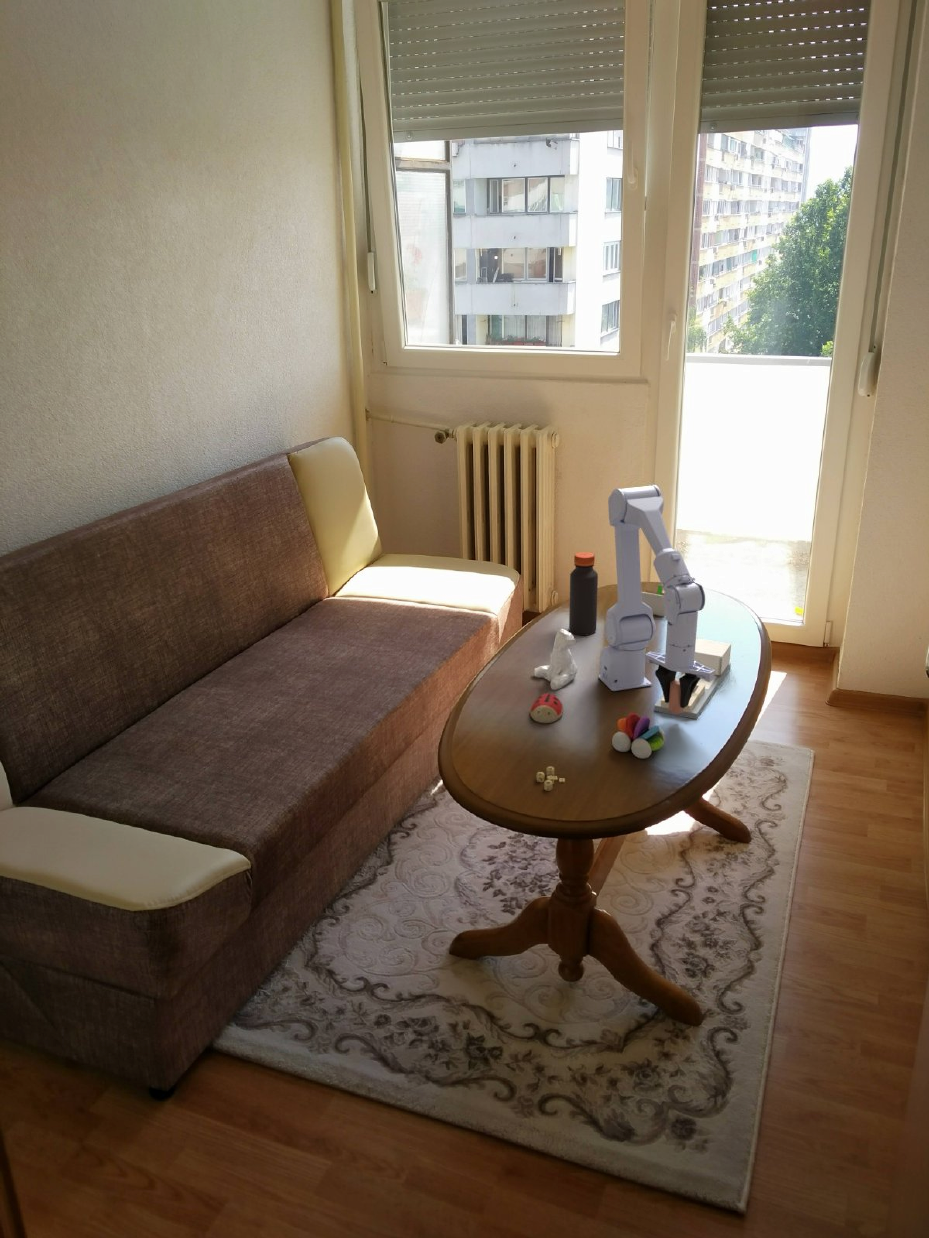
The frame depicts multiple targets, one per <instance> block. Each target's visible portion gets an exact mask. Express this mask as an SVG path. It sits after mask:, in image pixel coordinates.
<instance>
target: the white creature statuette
mask: <svg viewBox="0 0 929 1238" xmlns="http://www.w3.org/2000/svg"><path fill="white" fill-rule="evenodd" d="M554 638H555V639H554V644H553V645H552V647H553V649H552V652H551V653H550V654H549V656H550V663H549V665H548V664H547V665H539V666H538V667H535V668H534V669H533V670H534V672H533V673H534V677H535V678H538V679H539V678H543V679H545V680H547V681H548V682H550V688H551V690H554V691H557V690H561V689H562V688H563V687H564V686H566V685H568V684H569V683H571V681H573V680H574V679H575V678H576V675H577V674H578V670H579V668H578V667H577V664H576V661H575V660H574V658H573V654H572V652H571V650H570V648H572V646H573V645H575V644H576V638H575V636H574V635H573V633H571V632H569V630H566V629H564V628H561V629H559V630H558V631H557V632H556V635H555V637H554Z"/></svg>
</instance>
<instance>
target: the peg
mask: <svg viewBox="0 0 929 1238" xmlns="http://www.w3.org/2000/svg"><path fill="white" fill-rule="evenodd" d="M680 699H681V688H680V682H679V680H674V681H671V682H670V694H669V711H670V712H671V713H675V714H679V713H682V712H683V711H684V708H681V707H680Z"/></svg>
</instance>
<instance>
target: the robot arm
mask: <svg viewBox="0 0 929 1238" xmlns="http://www.w3.org/2000/svg"><path fill="white" fill-rule="evenodd" d="M607 500H608V501H607V502H608V519H609V526H611V527H614V540H615V541H614V545H615V546H614V547H615V564H616V566H615V567H616V584H617V585H616V586H617V587H616V588H617V602H615V604H614V605H612V606H611V607H610V608H609V609H608V610H607V611H606V615H605V616H606V619H605V624H604V635H605V638H606V640H607V642H608V643H609V645H607V646H604V647H602V648H601V651H600V657H599V658H600V661H599V675H598V677H597V678H599V679H600V680H601V681H602V682H603V683H604V685H605V686H607V688H608V689H610V691H612V692H616V691H622V690H623V691H624V690H630V689H637V688H644V687H650V686H652V682H651V681H650V680H648V679H647V677H646V675H645V674H646V672H645V671H646V670H645V669H646V664H648V665H650V664H653V665H656V666H658V667H657V669H656V670H655V672H654V675H655V677H656V678H657V680H658V681H659V685H660V688H661V690H662V695H664V700H665V702H666V703H669V694H670V682H671V681H674V680H675V678H676V677H677V674H678V673H680V672H682V673H685V675H684V676H682V677H681V678H679V682H680V688H681V699H680V707H681V708H685V707H686V706H688V704H689V701H690V698H691V695H692V693H693V690H694V688H695V687H696V685H697V683H698V682H699V680H700V679H701V678H702V679H705V681H707V682H710V681H712V680H713V679H714V674H715V670H713V669H710V668H708V667H706V666H704V665H702V664H700V663H698V662H696V661H694V658H695V645H696V638H697V628H698V616H699V611H702V610H703V609H704V607H705V604H706V594H705V593H706V592H705V591H704V587H703V585H702V584H701V583H700V582H699V581H697V580H696V578H695V577H693V576H691V574H690V572H689V570H688V568H687V565H686V563H685V561H684V558H683V556H682V554H681V551H679V550H676V549H674V548H673V545H672V543H671V541H670V537H669V534H668V530H667V528H666V525H665V522H664V518H663V516H662V515H663V511H664V506H665V505H664V503H665V501H664V497H663V492H662V491H661V489H660V488H659V486H658V485H656V484H650V485H647V486H645V485H644V486H637V487H627V488H615V489H613V490H612V491H611V493H610V495H609V496H608V499H607ZM640 529H641V531H642V534H643V535H644V537H645V539H646V541H647V542H648V544H649V545H650V548H651V550H652V552H653V553H654V555H655V558H654V560H653V567H654V570H655V572H656V574H657V577H658V578H659V581H660V584H661V585H662V586H663V591H665V592H664V595H663V604H664V607H665V616H664V617H665V620H666V621H667V623H666V635H665V636H666V637H665V639H666V640H665V650H664V651H665V652H664V653H659V652H654V651H649V652H646V651H647V647H648V646H650V641H652V640H653V639H654V638H655V635H656V632H657V629H656V622H655V620H654V614H653V613H652V609H651V608H650V607H649V606H648V605H646V604H645V603H643V602H642V595H641V592H642V578H641V577H642V576H641V575H642V574H641V557H640V556H641V554H640V553H641V552H640V534H639V533H640Z"/></svg>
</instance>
